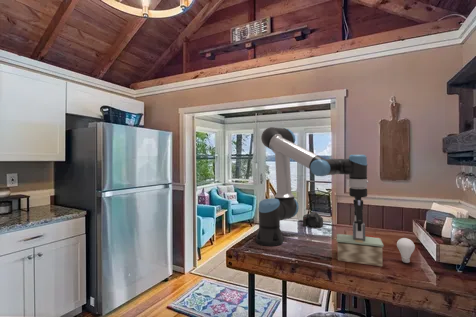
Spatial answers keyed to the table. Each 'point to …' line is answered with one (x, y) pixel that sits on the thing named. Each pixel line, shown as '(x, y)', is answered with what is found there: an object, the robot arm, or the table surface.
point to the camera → (312, 220)
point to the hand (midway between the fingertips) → (358, 233)
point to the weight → (355, 232)
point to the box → (360, 253)
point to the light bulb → (405, 249)
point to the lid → (368, 240)
